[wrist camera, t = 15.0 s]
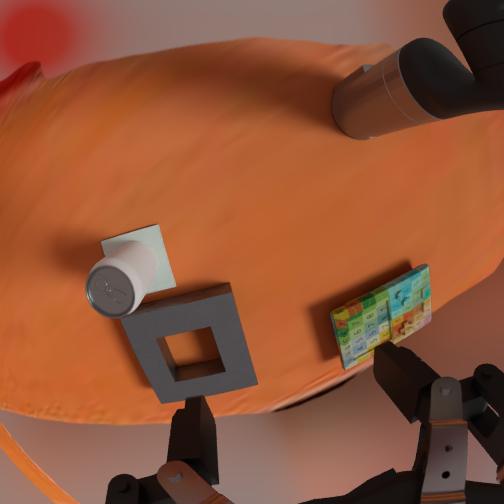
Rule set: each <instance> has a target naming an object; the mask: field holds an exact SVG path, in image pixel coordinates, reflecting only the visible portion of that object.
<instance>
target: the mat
mask: <svg viewBox="0 0 504 504" xmlns="http://www.w3.org/2000/svg"><path fill="white" fill-rule="evenodd" d="M135 241H137V242H142V243H145V244H147V245H148V246H150V247H151V248H152V249H153V250H154V252H155V253H156V255H157V258H158V261H159V270H158V274H157V276H156V278H155V280H154V281H153V283H152V285H151V286H150V288H149V290H148V291H147V293H146V294H148V293H152V292H157V291H161V290H165V289H169V288H173V287H176V283H175V280H174V276H173V273H172V270H171V267H170V263H169V260H168V256H167V253H166V250H165V246H164V242H163V239H162V235H161V231H160V228H159V224H157V225H154V226H150V227H147V228H143V229H140V230H136V231H133V232H130V233H126V234H123V235H120V236H116V237H113V238H110V239H107V240H103V241H101V244H102V248H103V251H104V255H105V257H106V256H107V255H109V254H110V253H112V252H114V251H115V250H117V249H118V248H120V247H122V246H123V245H125V244H127V243H129V242H135Z"/></svg>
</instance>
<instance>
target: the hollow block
mask: <svg viewBox="0 0 504 504" xmlns="http://www.w3.org/2000/svg"><path fill="white" fill-rule="evenodd" d="M120 320H121V323H122V325H123V328H124V330H125V332H126V334H127V337H128V339H129V341H130V343H131V346H132V348H133V350H134V352H135V354H136V356H137V358H138V360H139V363H140V365H141V367H142V369H143V371H144V373H145V375H146V376H147V378H148V380H149V382H150V384H151V386H152V388H153V390H154V391H155V393H156V395H157V397H158V399H159V400H160V402H161V404H164V403H171V402H177V401H183V400H186V397H191V396H197V395H203V396H204V397H206V396H211V395H216V394H220V393H225V392H229V391H234V390H238V389H242V388H246V387H250V386H254V385H258V382H257V378H256V374H255V371H254V367H253V364H252V361H251V357H250V354H249V350H248V347H247V343H246V340H245V336H244V333H243V329H242V325H241V322H240V318H239V315H238V311H237V307H236V304H235V300H234V296H233V293H232V289H231V285H230V283H226V284H222V285H218V286H214V287H210V288H206V289H202V290H198V291H194V292H190V293H186V294H182V295H178V296H174V297H170V298H166V299H162V300H157V301H153V302H149V303H145V304H140V305H139V306H138V307H137V308H136V309H135V310H134V311H133V312H131V313H129V314H127V315H125V316H124V317H121V318H120ZM210 326H211V329H212V332H213V335H214V338H215V341H216V344H217V347H218V350H219V353H220V356H221V358H220V359H215V360H211V361H206V362H202V363H197V364H192V365H187V366H182V367H177V366H176V364H175V361H174V359H173V357H172V354H171V352H170V350H169V347H168V345H167V342H166V340H165V338H164V337H165V336H170V335H175V334H179V333H184V332H188V331H193V330H197V329H201V328H206V327H210Z"/></svg>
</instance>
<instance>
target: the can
mask: <svg viewBox="0 0 504 504" xmlns="http://www.w3.org/2000/svg"><path fill="white" fill-rule="evenodd" d="M158 270H159V261H158V258H157V255H156V253H155V252H154V250H153V249H152V248H151V247H150V246H148V245H147V244H145V243H142V242H137V241H135V242H129V243H127V244H125V245H123V246H122V247H120V248H118V249H117V250H115V251H114V252H112V253H110V254H109V255H107V256H106V257H104V258H103V259H101V260H100V261H99V262H97V263H96V264H95V265H94V266H93V268H92V269H91V271H90V273H89V276H88V278H87V280H86V286H85V290H86V296H87V299H88V301H89V303H90V304H91V306H92V307H93V308H94V309H95V310H96V311H97V312H98V313H99V314H101V315H103V316H105V317H108V318H114V319H115V318H121V317H124V316H125V315H127V314H129V313H131V312H133V311H134V310H135V309H136V308H137V307H138V306H139V304H140V303H141V301H142V299H143V298H144V296H145V294H146V293H147V291H148V290H149V288H150V286H151V285H152V283H153V281H154V280H155V278H156V276H157V274H158Z"/></svg>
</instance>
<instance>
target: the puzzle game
mask: <svg viewBox="0 0 504 504" xmlns="http://www.w3.org/2000/svg"><path fill="white" fill-rule="evenodd" d="M330 316H331V320H332V324H333V328H334V333H335V337H336V341H337V346H338V350H339V355H340V360H341V364H342V368H343V369H344V370H346V369H348V368H350V367H352V366H354V365H356V364H358V363H360V362H362V361H364V360H366V359H368V358H370V357H372V356H374V348H375V346H377V345H380V344H382V343H385V342H387V341H391V342H392V343H393V344H395V343H397V342H399V341H400V340H402V339H404V338H405V337H407V336H409V335H410V334H412V333H414V332H415V331H417V330H418V329H420V328H422V327H423V326H424V325H426V324H428V323H429V322H430V321H431V289H430V274H429V265H427V264H422V265H419V266H417V267H416V268H414V269H412V270H410V271H408V272H406V273H405V274H403V275H401V276H399V277H397V278H395V279H393V280H391V281H389V282H388V283H386V284H384V285H382V286H380V287H378V288H376V289H374V290H372V291H370V292H368V293H366V294H364V295H362V296H360V297H357V298H355V299H353V300H351V301H349V302H347V303H345V305H343V306H341V307H339V308H337V309H334V310H332V311H331V312H330Z"/></svg>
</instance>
